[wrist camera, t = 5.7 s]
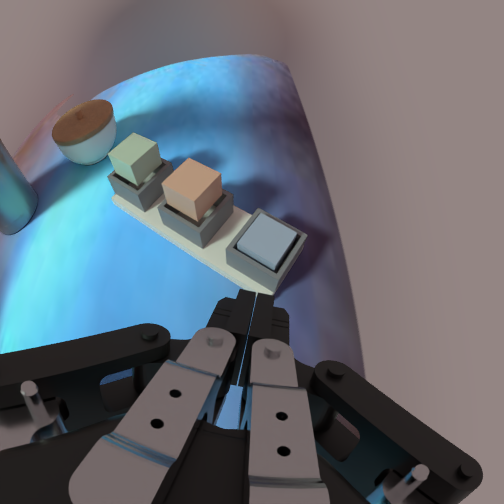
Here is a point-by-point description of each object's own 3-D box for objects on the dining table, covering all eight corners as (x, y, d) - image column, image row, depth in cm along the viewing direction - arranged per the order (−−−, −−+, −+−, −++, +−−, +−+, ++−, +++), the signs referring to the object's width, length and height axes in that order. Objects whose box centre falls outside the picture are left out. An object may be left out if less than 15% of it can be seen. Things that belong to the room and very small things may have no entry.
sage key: (115, 172, 34) (107, 153, 31) (139, 151, 36) (133, 132, 33) (137, 185, 33) (130, 165, 30) (162, 163, 35) (156, 142, 32)
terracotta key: (167, 203, 32) (161, 183, 29) (192, 178, 34) (188, 157, 31) (197, 221, 31) (194, 201, 28) (222, 194, 33) (221, 173, 30)
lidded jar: (107, 125, 47) (93, 85, 38) (134, 147, 44) (121, 102, 35) (60, 158, 43) (41, 120, 34) (82, 186, 40) (59, 143, 31)
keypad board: (114, 204, 38) (102, 181, 34) (151, 167, 41) (144, 143, 37) (268, 304, 33) (273, 287, 28) (302, 251, 36) (311, 229, 32)
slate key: (237, 258, 32) (237, 242, 29) (258, 230, 34) (260, 212, 31) (271, 279, 31) (275, 265, 28) (291, 249, 33) (297, 232, 30)
